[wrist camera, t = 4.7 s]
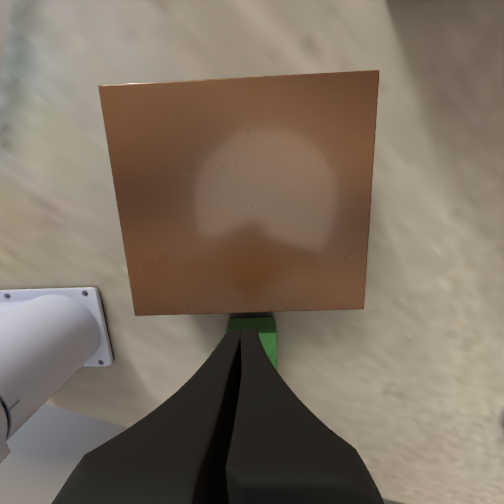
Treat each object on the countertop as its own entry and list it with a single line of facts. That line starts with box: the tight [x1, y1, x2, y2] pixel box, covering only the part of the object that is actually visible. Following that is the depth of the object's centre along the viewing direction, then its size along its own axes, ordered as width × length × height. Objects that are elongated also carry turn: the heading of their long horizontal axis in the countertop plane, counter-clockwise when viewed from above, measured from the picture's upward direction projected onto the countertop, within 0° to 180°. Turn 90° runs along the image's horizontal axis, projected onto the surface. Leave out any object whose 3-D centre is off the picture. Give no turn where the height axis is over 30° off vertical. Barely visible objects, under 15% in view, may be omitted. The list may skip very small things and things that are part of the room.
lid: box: [98, 70, 379, 316], centre depth 14 cm, size 13×15×1 cm
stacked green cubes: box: [226, 317, 277, 370], centre depth 20 cm, size 7×4×5 cm, turn 2°
